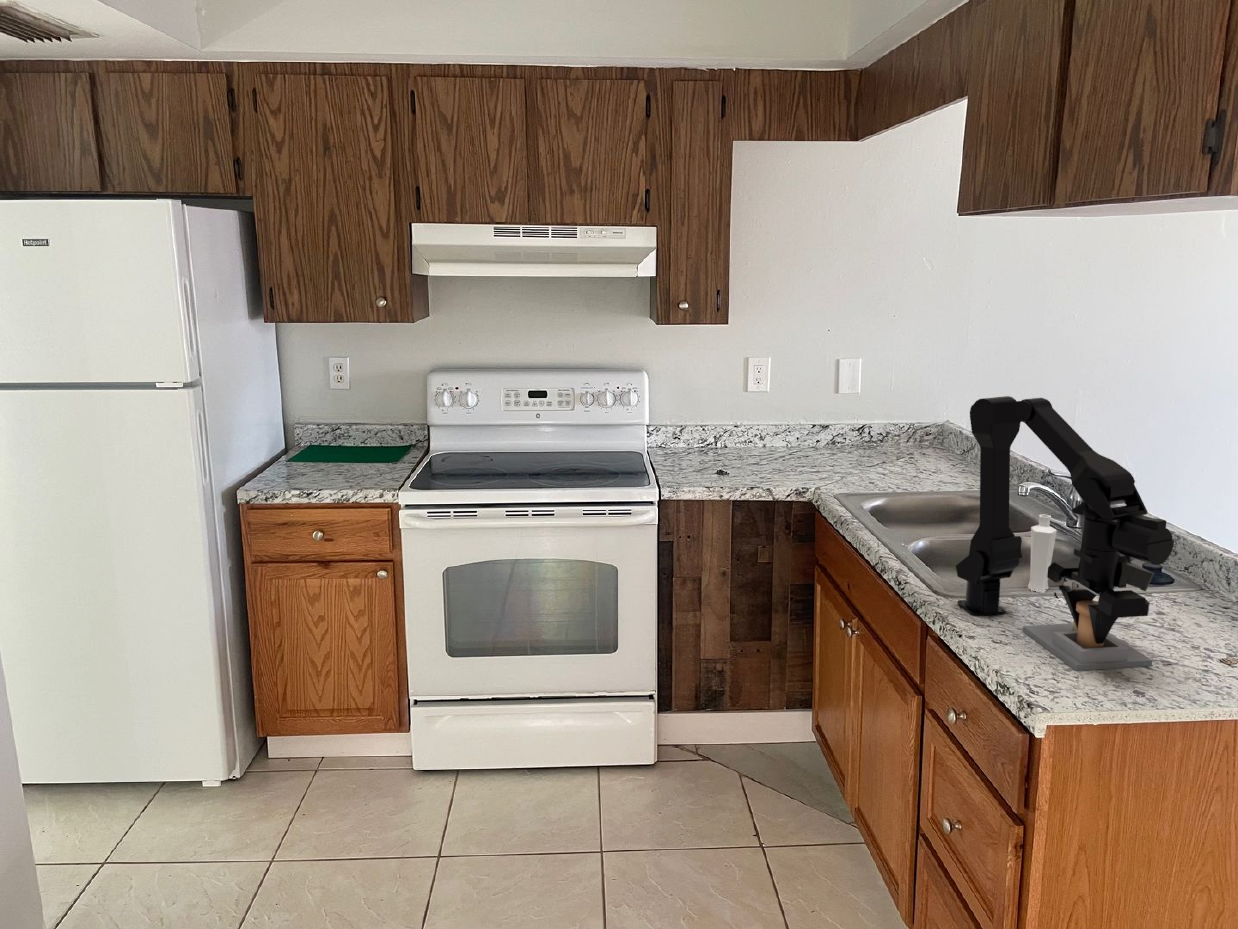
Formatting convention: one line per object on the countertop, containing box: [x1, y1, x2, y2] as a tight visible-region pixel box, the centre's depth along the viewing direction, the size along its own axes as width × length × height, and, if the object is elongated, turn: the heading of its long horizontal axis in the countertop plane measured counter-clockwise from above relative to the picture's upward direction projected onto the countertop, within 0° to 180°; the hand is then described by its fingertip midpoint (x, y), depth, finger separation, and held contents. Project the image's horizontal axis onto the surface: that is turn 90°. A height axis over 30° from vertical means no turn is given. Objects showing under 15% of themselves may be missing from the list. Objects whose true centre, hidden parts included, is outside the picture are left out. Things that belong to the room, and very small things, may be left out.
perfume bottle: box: [1027, 513, 1058, 594], centre depth 186 cm, size 5×4×15 cm
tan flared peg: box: [1076, 599, 1104, 649], centre depth 156 cm, size 5×5×7 cm
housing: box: [1022, 620, 1153, 672], centre depth 160 cm, size 16×13×4 cm
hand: (1090, 637), depth 156 cm, fingers closed on tan flared peg, 4 cm apart
